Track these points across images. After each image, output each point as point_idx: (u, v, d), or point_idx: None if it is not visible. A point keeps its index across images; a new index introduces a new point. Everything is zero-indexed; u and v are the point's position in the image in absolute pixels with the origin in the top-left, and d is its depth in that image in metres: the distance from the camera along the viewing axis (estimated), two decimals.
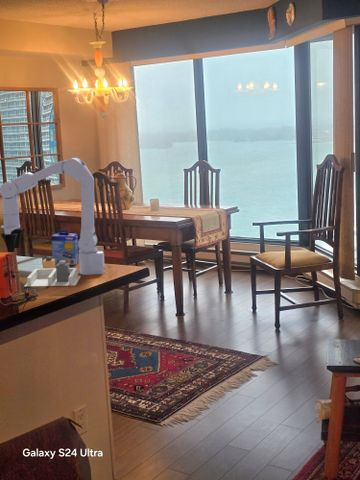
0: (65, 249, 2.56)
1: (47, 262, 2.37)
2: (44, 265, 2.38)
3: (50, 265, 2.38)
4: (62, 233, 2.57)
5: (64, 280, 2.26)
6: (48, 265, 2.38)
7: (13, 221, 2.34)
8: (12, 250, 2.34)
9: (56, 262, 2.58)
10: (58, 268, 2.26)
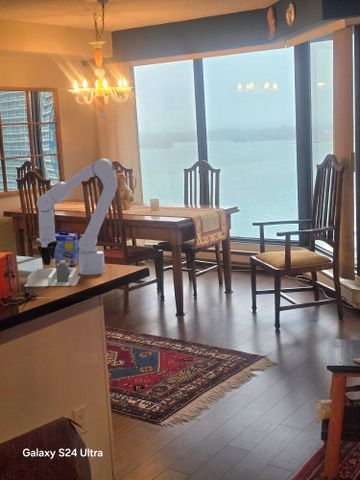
0: (65, 249, 2.56)
1: None
2: (44, 265, 2.38)
3: (50, 265, 2.38)
4: (62, 233, 2.57)
5: (64, 280, 2.26)
6: (48, 265, 2.38)
7: (49, 234, 2.35)
8: (48, 263, 2.35)
9: (56, 262, 2.58)
10: (58, 268, 2.26)
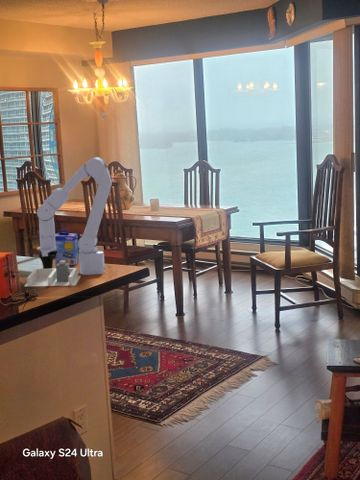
0: (65, 249, 2.56)
1: None
2: None
3: None
4: (62, 233, 2.57)
5: (64, 280, 2.26)
6: None
7: (49, 243, 2.35)
8: None
9: (56, 262, 2.58)
10: (58, 268, 2.26)
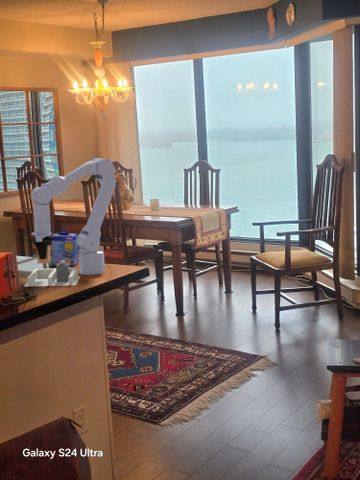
0: (65, 249, 2.56)
1: None
2: None
3: None
4: (62, 233, 2.57)
5: (64, 280, 2.26)
6: None
7: (44, 228, 2.27)
8: (44, 257, 2.28)
9: (56, 262, 2.58)
10: (58, 268, 2.26)
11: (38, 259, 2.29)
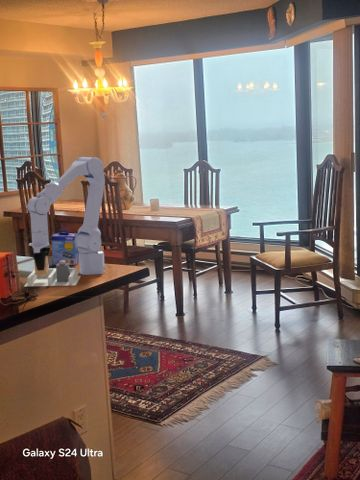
0: (65, 249, 2.56)
1: None
2: None
3: None
4: (62, 233, 2.57)
5: (64, 280, 2.26)
6: None
7: (42, 239, 2.22)
8: (42, 268, 2.24)
9: (56, 262, 2.58)
10: (58, 268, 2.26)
11: (36, 270, 2.25)
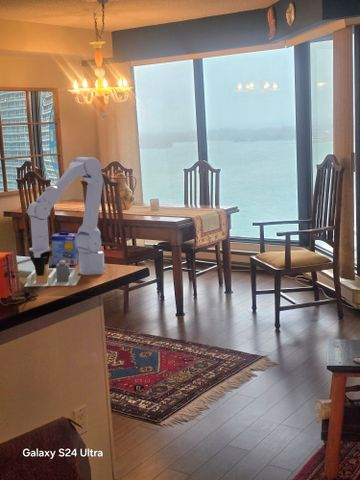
0: (65, 249, 2.56)
1: None
2: None
3: None
4: (62, 233, 2.57)
5: (64, 280, 2.26)
6: None
7: (42, 243, 2.22)
8: (41, 274, 2.23)
9: (56, 262, 2.58)
10: (58, 268, 2.26)
11: (36, 279, 2.25)
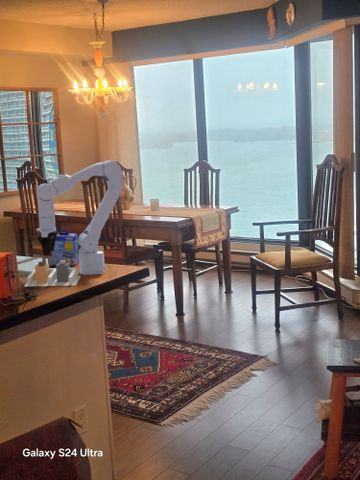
0: (65, 249, 2.56)
1: (40, 268, 2.24)
2: (36, 271, 2.25)
3: (43, 271, 2.25)
4: (62, 233, 2.57)
5: (64, 280, 2.26)
6: (41, 271, 2.25)
7: (49, 224, 2.30)
8: (48, 253, 2.30)
9: (56, 262, 2.58)
10: (58, 268, 2.26)
11: (36, 279, 2.25)
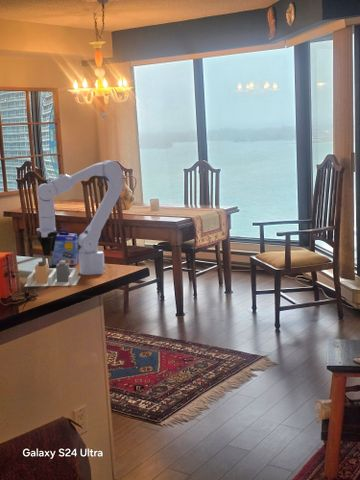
0: (65, 249, 2.56)
1: (40, 268, 2.24)
2: (36, 271, 2.25)
3: (43, 271, 2.25)
4: (62, 233, 2.57)
5: (64, 280, 2.26)
6: (41, 271, 2.25)
7: (49, 224, 2.30)
8: (48, 253, 2.30)
9: (56, 262, 2.58)
10: (58, 268, 2.26)
11: (36, 279, 2.25)
